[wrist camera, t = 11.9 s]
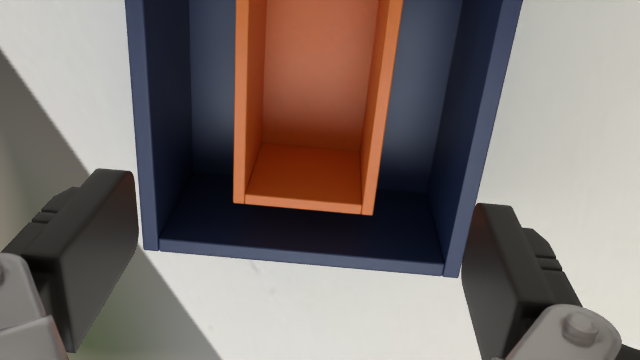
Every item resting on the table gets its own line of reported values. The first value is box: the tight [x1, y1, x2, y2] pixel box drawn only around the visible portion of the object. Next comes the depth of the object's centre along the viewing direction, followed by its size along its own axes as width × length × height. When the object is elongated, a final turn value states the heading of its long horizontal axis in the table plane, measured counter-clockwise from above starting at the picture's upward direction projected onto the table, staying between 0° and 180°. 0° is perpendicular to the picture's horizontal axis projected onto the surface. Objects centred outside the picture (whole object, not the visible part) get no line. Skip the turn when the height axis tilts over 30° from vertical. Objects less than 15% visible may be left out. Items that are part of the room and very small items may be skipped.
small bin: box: [233, 0, 404, 215], centre depth 25 cm, size 6×10×6 cm, turn 175°
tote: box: [125, 0, 523, 278], centre depth 25 cm, size 14×14×7 cm
